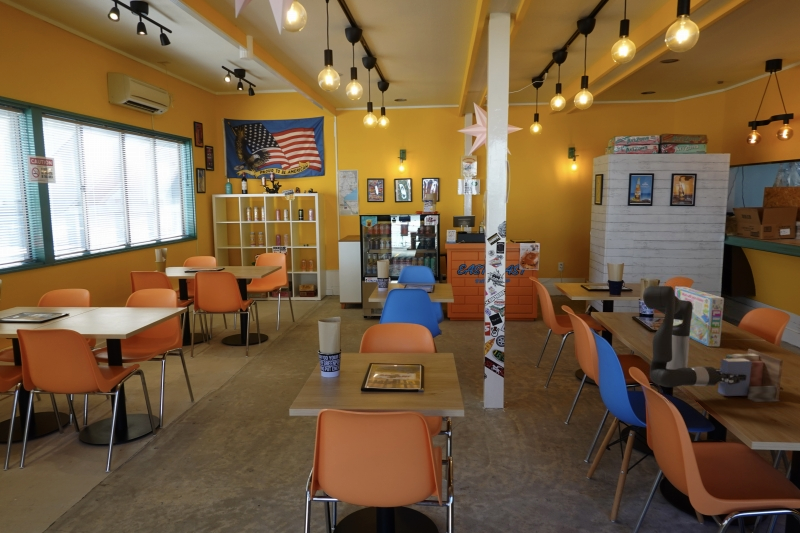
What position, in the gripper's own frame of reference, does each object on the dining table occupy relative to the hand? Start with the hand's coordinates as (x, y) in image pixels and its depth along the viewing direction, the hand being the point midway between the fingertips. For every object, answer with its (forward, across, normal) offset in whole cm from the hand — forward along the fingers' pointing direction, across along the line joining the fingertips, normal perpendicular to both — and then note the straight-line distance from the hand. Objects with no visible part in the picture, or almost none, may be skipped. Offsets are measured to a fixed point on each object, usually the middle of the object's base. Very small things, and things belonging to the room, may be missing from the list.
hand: (741, 375), depth 213 cm
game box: (+44, +90, +8) cm, 101 cm away
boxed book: (-3, 0, +8) cm, 8 cm away
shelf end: (+8, +3, +9) cm, 12 cm away
